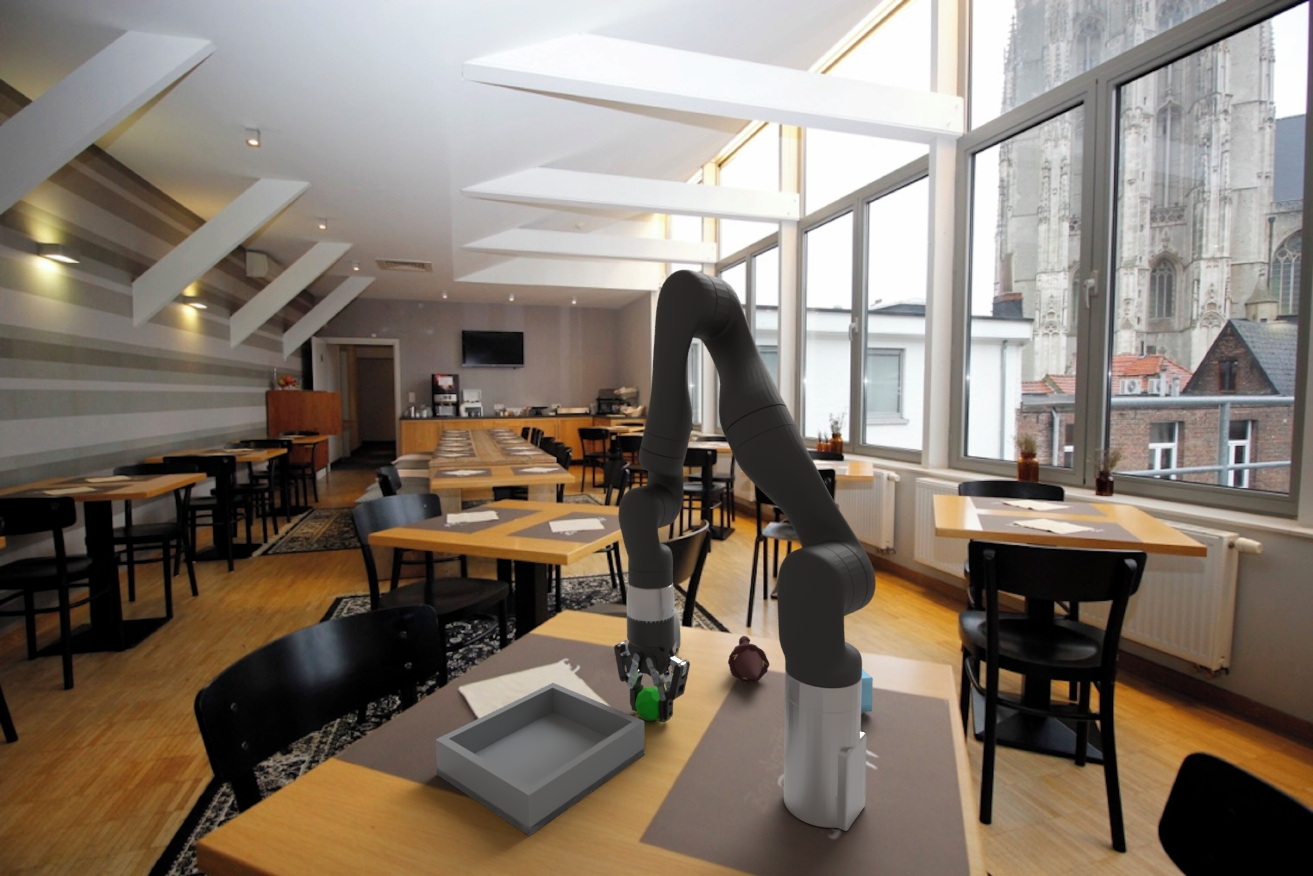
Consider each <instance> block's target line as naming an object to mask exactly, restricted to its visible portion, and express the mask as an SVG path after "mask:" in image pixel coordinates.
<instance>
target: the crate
mask: <svg viewBox="0 0 1313 876" xmlns="http://www.w3.org/2000/svg"><path fill="white" fill-rule="evenodd" d="M645 751H646V750H645V720H644V719H640V718H638V717H635V716H634V715H631V714H629V713H626V712H624V711H622V710H619V709H617V708H614V707H612V706H610V705H607V704H605V703H602V702H600V701H598V700H595V699H593V698H591V697H588V696H586V695H583V694H582V693H578V692H576V691H573V690H571V689H569V688H568V687H565V686H561V685H559V684H557V683H554V682H551V683H550V684H548V685H546V686H543V687H541V688H539V689H537V690H535V691H533V692H531V693H529V694H527V695H525V696H523V697H521V698H518V699H517V700H514V701H512V702H510V703H508V704H506V705H504V706H502V707H500V708H497V709H496V710H494V711H492V712H490V713H488V714H486V715H483V716H481V717H480V718H476V719H475V720H473V721H471V722H469V723H467V724H465V725H463V726H461V727H458V728H457V729H454V730H452V731H450V732H449V733H446V734H444V735H441V736H440V737H438V738H436V739H435V755H436V756H435V758H436V762H435V763H436V775H437V777H440V778H441V779H443V780H444V781H446V782H447V783H448V784H449V785H452V786H453V787H454V788H456V789H458V791H461V792H462V793H464V794H465V795H466V796H468V797H470V798H471V799H472V800H475V801H476V803H479V804H480V805H482V806H484V807H485V808H486V809H487V810H490V811H491V812H493V813H494V814H495V815H497V816H498V817H500V818H502V819H503V820H504V821H506V822H507V823H509V824H511V825H512V826H514V827H515V828H517V829H518V830H519V831H521V832H523V833H524V834H526V835H527V836H529V837H531V836H532V835H533V834H534V833H536V832H537V831H539V830H541V829H542V828H543V827H544V826H546V825H547V824H549V823H550V822H552V821H553V820H554V819H556V818H557V817H558V816H560V815H562V814H563V813H564V812H566V811H567V810H568V809H570V808H571V807H573V806H574V805H575V804H577V803H579V801H581V800H582V799H584V798H586V797H587V796H589V794H591V793H593V792H594V791H596V790H597V789H598V788H600V787H601V786H602V785H603V784H605V783H607V782H608V781H609V780H610V779H612V778H614V777H615V776H617V775H618V774H619V773H620V772H622V771H624V770H625V769H626V768H628V767H629V766H631V765H632V764H633V763H635V762H636V761H638V760H639V759H640V758H642V757H643V756H645Z"/></svg>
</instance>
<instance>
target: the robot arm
mask: <svg viewBox="0 0 1313 876" xmlns="http://www.w3.org/2000/svg"><path fill="white" fill-rule="evenodd" d="M655 310H656V311H655V320H654V321H655V322H654V323H655V324H654V337H653V349H652V350H653V351H652V369H651V370H652V372H651V374H652V375H651V386H650V387H651V388H650V397H649V403H648V410H647V415H646V416H647V417H646V420H645V425H644V429H643V433H642V437H641V438H642V439H641V443H640V448H639V453H638V463H639V465H640V466H641V468H643V469H644V470H646V471H647V482H646V485H640V486H637V487H633V488H630V489H629V490H627V491H626V492H625V493H624V494H623V495H622V498H621V500H620V503H619V507H618V513H617V514H618V523H619V528H620V532H621V536H622V541H623V544H624V547H625V551H626V553H627V559H628V561H627V590H626V591H627V592H626V593H627V594H626V638H627V640H626V639H625V640H623V641H621V642H618V643H617V644H615V645H613V649H614V654H615V661H616V666H617V667H616V668H617V672H618V678H619V680H620V681H621V682H622V683H623V682H625V683H626V684H627V687H628V688H629V704H630V706H631V711H633V712H637V710H636V707H635V703H636V699H637V696H638V694H639V693H640V692H641V691H642V690H643V689H644V684H642V683H643V682H644V678H645V675H646V674H647V675H648V676H649V677H651V680H652V684H653V687H655V688H657V690H658V693H659V697H660V699H659V719H658V721H659V722H660V723H663V724H665V723H666V722H668V721H669V720H670V719H671V718H673V715H674V701H675V700H676V699H677V698H679V697H680V696H682V695H684V694H685V689H686V686H687V681H688V676H689V672H690V666H691V663H690V661H689V660H688V659H684V660H681V659H680V658H678V657H676V655H675V654H676V653H675V654H674V652H673V648H672V644H673V641H674V609H675V590H674V582H673V581H674V580H673V579H674V577H673V576H674V575H673V571H674V565H673V564H674V563H673V562H674V561H673V558H674V557H673V553H672V549H671V548H670V547H669V546H668V545H666V544H664V543H661V542H660V537H659V529H661V528H664V527H667V526H670V525H672V523H674V522H675V521H676V520H677V518H678V517H679V514H680V513H681V510H682V507H683V502H684V483H685V482H684V478H685V476H684V475H685V474H684V464H685V460H686V455H687V451H688V447H689V442H690V439H691V433H692V428H693V427H692V426H693V408H692V401H691V397H690V392H689V385H688V374H687V368H688V366H687V365H688V357H689V352H690V349H691V346H692V341H693V339H698V340H700V341H701V342H702V344H704V346H705V348H706V350H707V351H708V353H709V355H710V357H711V359H712V361H713V364H714V366H715V369H716V372H717V374H718V379H719V395H718V419H719V424H720V428H721V430H722V432H723V435H724V437H725V439H726V442H727V444H728V446H729V449H730V451H731V453H732V455H733V457H734V460H735V461H736V463H737V466H738V467H739V468H740V470H741V471H742V472H743V473H744V475H745V476H746V477H747V478H748V479H749V480H750V481H751V483H752V484H754V485H755V486H756V487H757V488H758V489H759V490H760V491H761V492H762V493H763V494H764V495H765V496H766V497H767V498H768V499H769V500H771V501H772V503H774V505H775V506H777V508H778V509H779V510H781V512H782V513H783V514H784V516H785V517H786V519H787V520H788V522H789V523H790V524H791V526H792V529H793V531H794V532H795V534H796V537H797V539H798V541H799V543H800V546H801V547H800V548H798V549H795V550H793V551H791V552H789V553H788V554H787V555H786V556H785V557H784V558H783V559H782V562H781V564H780V567H779V570H778V576H777V586H776V594H777V595H776V597H777V598H776V599H777V619H778V620H777V622H778V624H777V625H778V626H777V627H778V638H779V639H778V640H779V644H780V648H781V651H782V653H783V656H784V662H785V663H784V665H785V666H784V669H785V670H784V721H783V722H784V726H783V727H784V732H783V737H784V738H783V739H784V741H783V743H784V744H783V745H784V747H783V784H782V785H783V802H784V805H785V807H786V808H787V810H788V812H790V813H791V814H792V815H793V816H794V817H796V818H797V819H798V820H801V821H802V822H804V823H807V824H809V825H813V826H816V827H821V828H835V829H836V828H837V829H840V830H842V831H845V832H847V831H849V829H850V828H851V827H852V825H853V823H854V822H855V820H856V819H857V817H858V816H859V815H860V814H861V812H862V811H863V809H864V808H865V806H866V778H867V777H866V776H867V775H866V771H867V770H866V769H867V734H866V733H865V732H863V731H861V730H862V729H861V728H862V725H861V724H862V714H861V692H862V669H863V658H862V655H861V652H860V651H859V649H857V648H856V647H855V646H854V645H853V644H851V643H848V642H846V640H845V637H846V636H845V617H846V616H848V615H850V614H851V615H852V614H853V613H856V612H857V611H859V610H862V609H863V608H864V607H866V606H868V604H869V603H870V602H871V601H872V599H873V598H874V596H875V592H876V585H877V584H876V579H877V578H876V575H875V569H874V566H873V564H872V562H871V560H870V557H869V555H868V554H867V552H866V550H865V548H864V546H863V545H862V543H861V542H860V540H859V538H858V537H857V536H856V534H855V532H854V531H853V529H852V528H851V526H850V524H849V523H848V521H847V520H846V518H845V516H844V515H843V513H842V512H841V510H840V508H839V507H838V505H837V504H836V502H835V500H834V498H833V497H832V495H831V493H830V491H829V489H828V487H827V486H826V484H825V481H824V480H823V478H822V476H821V473H820V471H819V470H818V468H817V466H816V464H815V462H814V460H813V458H812V456H811V454H810V453H809V451H808V448H807V446H806V444H805V442H804V440H803V438H802V436H801V433H800V431H799V429H798V427H797V425H796V423H795V421H794V419H793V416H792V415H791V412H790V410H789V408H788V407H787V405H786V403H785V401H784V399H783V397H782V396H781V393H780V392H779V390H778V388H777V386H776V383H775V382H774V379H773V377H772V375H771V372H770V371H769V369H768V366H767V365H766V363H765V361H764V358H763V357H762V355H761V353H760V352H759V349H758V346H757V344H756V342H755V340H754V337H753V334H752V331H751V329H750V328H751V327H750V325H749V322H748V319H747V316H746V313H745V311H744V309H743V305H742V303H741V301H740V299H739V296H738V294H737V292H736V290H735V289H734V288H733V287H732V285H731V284H730V283H728V282H727V281H726V280H723V278H720V277H716V276H713V275H709V274H706V273H703V272H699V271H696V270H692V269H691V270H690V269H679V270H675V271H674V272H672V273H671V274H670V275H669V276H667V278H666V279H665V280H664V282H663V284H662V286H661V288H660V290H659V293H658V298H657V302H656V309H655Z"/></svg>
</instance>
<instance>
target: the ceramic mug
mask: <svg viewBox="0 0 1313 876" xmlns="http://www.w3.org/2000/svg"><path fill="white" fill-rule="evenodd" d="M681 635H682V634H681V624H680V616H679V612H678V609H677V608H674V641H673V644H672V648H673V652H674V654H676V651H677V649H680V647H681V638H682V637H681Z"/></svg>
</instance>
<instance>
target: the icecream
mask: <svg viewBox="0 0 1313 876" xmlns="http://www.w3.org/2000/svg"><path fill="white" fill-rule="evenodd" d="M750 642H751V639H750V637H748V636H746V635H742V636H740V638H739V640H738V645H736V646H734V648H733V650H732V651H731V653H730V654H729V656H728V657H729V658H728V661H727V664H728V666H729V671H730V673H731V675H732V677H733V678H735V679H737V680H739V681H740V682H742V683H744V682H745V683H756V682H758V681H760V680H762V677H764V675H765V674H766V673H768V670H769V667H770V662H769V660H768V657H767V654H766V652H765V651H764V650H763V649H762V648H760V647H759V646H757V645H756V644H754V643H750ZM755 681H756V682H755Z"/></svg>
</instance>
